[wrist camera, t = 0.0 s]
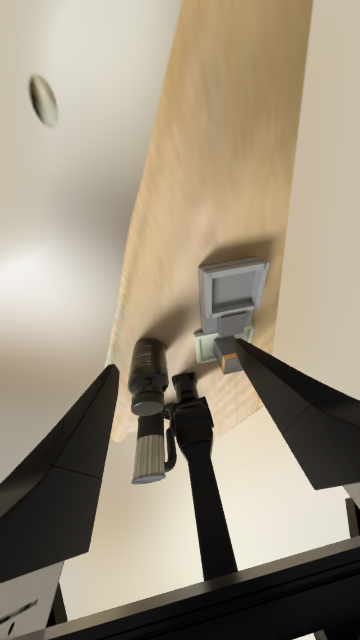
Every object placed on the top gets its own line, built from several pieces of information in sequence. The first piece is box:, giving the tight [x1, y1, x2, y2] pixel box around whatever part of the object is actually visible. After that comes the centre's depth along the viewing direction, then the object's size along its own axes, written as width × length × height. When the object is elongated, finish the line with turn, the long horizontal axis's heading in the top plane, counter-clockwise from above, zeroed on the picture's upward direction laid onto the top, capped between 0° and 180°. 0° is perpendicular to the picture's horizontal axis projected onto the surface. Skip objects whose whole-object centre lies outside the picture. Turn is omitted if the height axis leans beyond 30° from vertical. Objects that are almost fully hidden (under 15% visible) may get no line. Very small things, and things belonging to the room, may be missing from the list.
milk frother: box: [131, 405, 177, 484], centre depth 41 cm, size 14×16×15 cm
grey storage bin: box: [198, 257, 270, 338], centre depth 23 cm, size 12×10×4 cm
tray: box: [194, 322, 255, 364], centre depth 31 cm, size 9×13×1 cm
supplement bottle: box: [128, 339, 169, 416], centre depth 24 cm, size 7×7×12 cm
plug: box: [213, 335, 243, 374], centre depth 28 cm, size 5×5×6 cm
